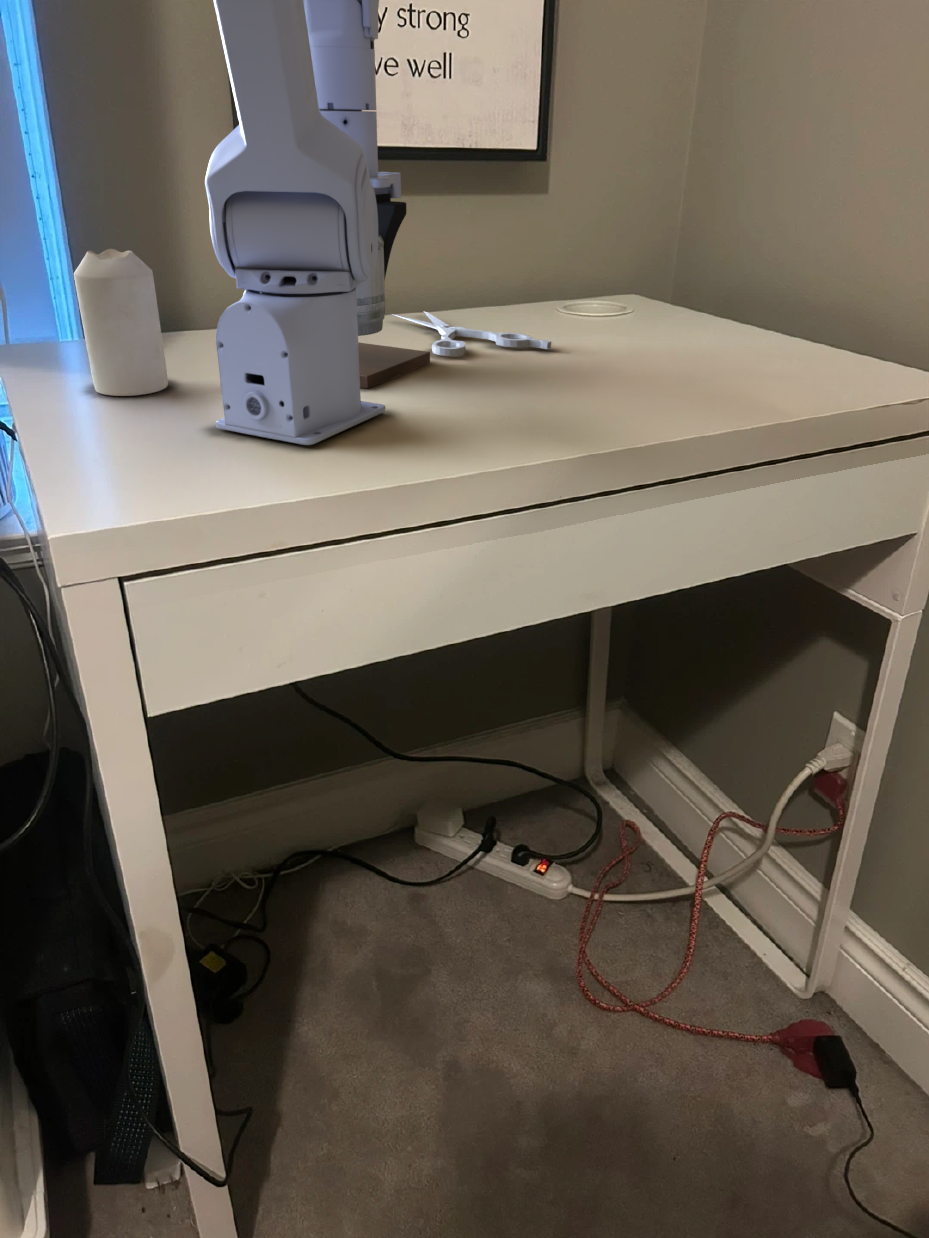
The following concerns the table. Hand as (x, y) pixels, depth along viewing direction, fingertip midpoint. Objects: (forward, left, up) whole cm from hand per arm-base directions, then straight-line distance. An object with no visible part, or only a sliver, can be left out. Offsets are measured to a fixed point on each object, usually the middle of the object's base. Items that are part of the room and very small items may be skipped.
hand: (347, 300), depth 75 cm
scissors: (+16, -1, -6) cm, 17 cm away
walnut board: (0, 0, -6) cm, 6 cm away
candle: (-14, +11, -6) cm, 19 cm away
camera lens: (0, 0, -3) cm, 3 cm away
